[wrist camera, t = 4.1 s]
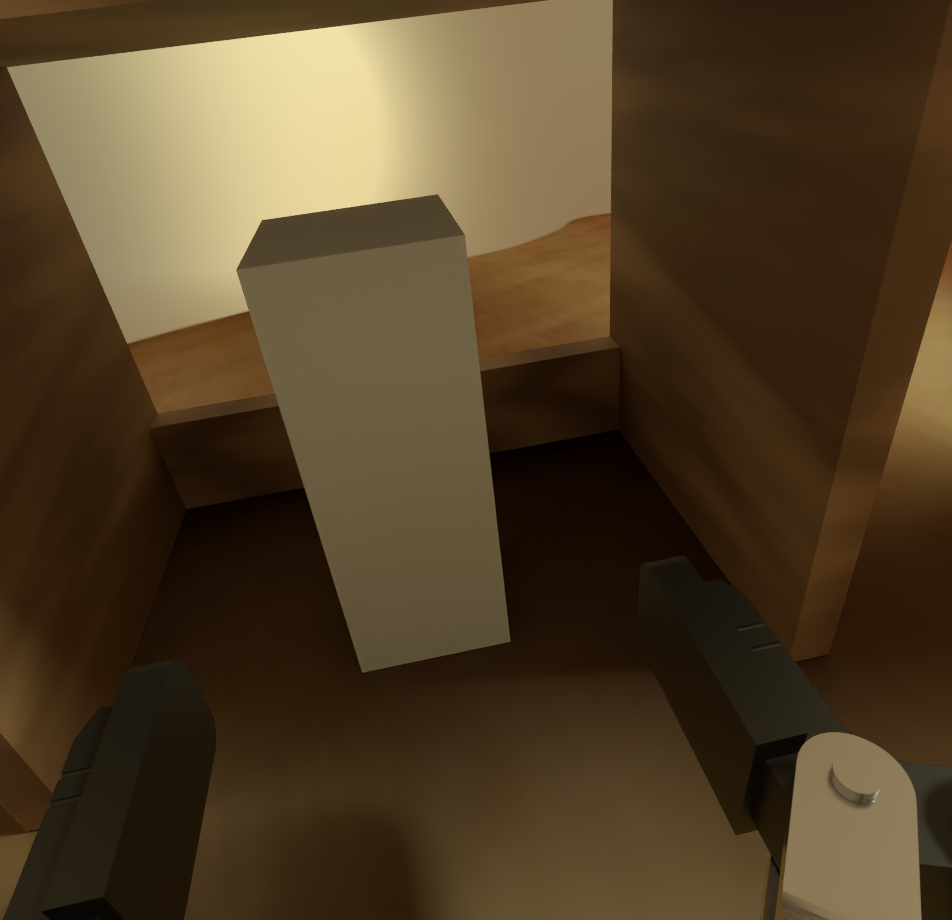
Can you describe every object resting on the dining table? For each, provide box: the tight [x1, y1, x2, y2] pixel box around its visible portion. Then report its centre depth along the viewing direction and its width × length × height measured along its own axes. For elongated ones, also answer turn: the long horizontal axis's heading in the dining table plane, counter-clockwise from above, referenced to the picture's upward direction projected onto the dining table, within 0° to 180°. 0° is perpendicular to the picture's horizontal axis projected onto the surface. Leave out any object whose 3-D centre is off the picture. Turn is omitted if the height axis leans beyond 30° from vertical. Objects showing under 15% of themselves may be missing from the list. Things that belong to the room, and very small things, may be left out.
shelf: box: [0, 0, 952, 832], centre depth 18 cm, size 21×14×18 cm
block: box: [237, 195, 510, 673], centre depth 18 cm, size 4×4×12 cm
